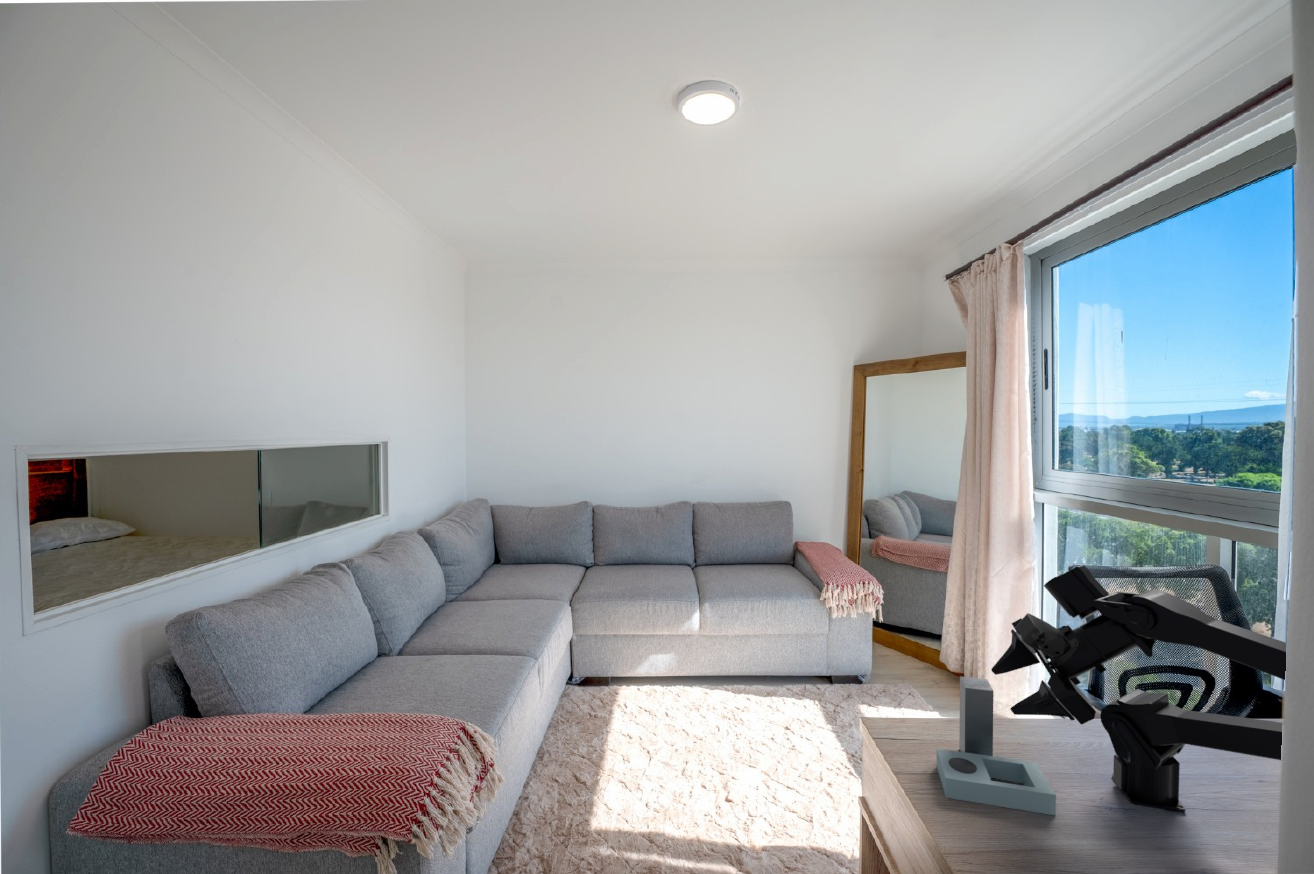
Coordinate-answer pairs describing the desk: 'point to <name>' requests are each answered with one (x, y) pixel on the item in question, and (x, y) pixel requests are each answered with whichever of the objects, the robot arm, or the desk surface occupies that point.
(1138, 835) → the desk surface
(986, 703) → the square bit
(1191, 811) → the desk surface
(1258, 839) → the desk surface
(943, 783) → the socket block
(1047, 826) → the desk surface
